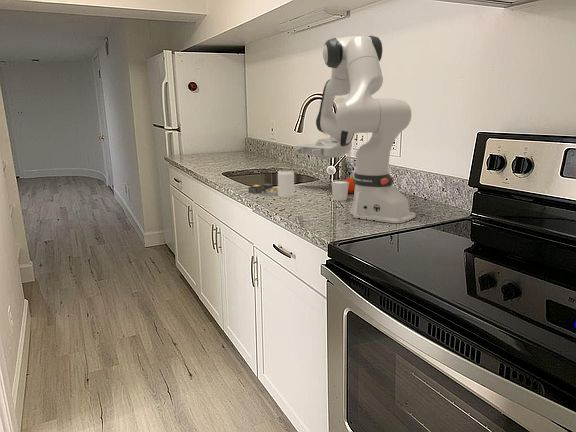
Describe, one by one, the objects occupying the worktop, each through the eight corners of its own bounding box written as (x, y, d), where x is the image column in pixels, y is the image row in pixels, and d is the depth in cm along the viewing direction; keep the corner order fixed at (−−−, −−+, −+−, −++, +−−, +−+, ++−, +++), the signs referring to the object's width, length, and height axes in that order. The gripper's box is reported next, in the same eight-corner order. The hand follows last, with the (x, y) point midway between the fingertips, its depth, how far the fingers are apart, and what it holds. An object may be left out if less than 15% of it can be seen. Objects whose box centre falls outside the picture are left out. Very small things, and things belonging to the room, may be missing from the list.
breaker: (262, 190, 193) (262, 185, 192) (256, 191, 191) (256, 186, 190) (256, 189, 195) (256, 184, 195) (250, 190, 193) (250, 185, 192)
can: (292, 200, 181) (292, 170, 178) (276, 200, 182) (276, 170, 179) (295, 197, 187) (295, 168, 185) (279, 197, 189) (279, 168, 186)
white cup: (349, 198, 185) (349, 181, 183) (346, 201, 179) (347, 184, 177) (332, 197, 187) (333, 180, 185) (329, 200, 181) (329, 183, 179)
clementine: (363, 194, 191) (364, 177, 190) (348, 195, 189) (349, 178, 188) (355, 191, 199) (355, 175, 197) (340, 192, 197) (341, 176, 195)
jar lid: (290, 192, 192) (290, 189, 192) (276, 195, 186) (276, 192, 185) (275, 189, 198) (275, 186, 197) (261, 192, 191) (261, 189, 191)
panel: (290, 194, 192) (290, 186, 191) (271, 199, 184) (270, 191, 183) (267, 190, 201) (267, 183, 201) (247, 195, 193) (247, 187, 192)
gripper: (306, 140, 205) (285, 142, 195) (343, 142, 192) (323, 145, 182) (306, 154, 207) (285, 157, 197) (343, 157, 194) (323, 161, 184)
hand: (304, 151), depth 189 cm, fingers open, 6 cm apart
